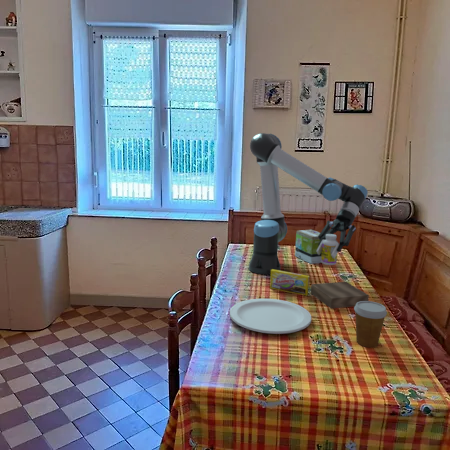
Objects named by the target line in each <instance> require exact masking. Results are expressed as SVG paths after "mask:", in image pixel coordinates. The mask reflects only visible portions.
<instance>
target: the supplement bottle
mask: <svg viewBox="0 0 450 450" xmlns="http://www.w3.org/2000/svg"><path fill="white" fill-rule="evenodd" d="M337 243H339V242H338V240H337V235H336V234H335V233H334V234H326V240H324V241H323V245H322V255H321V262H322V265H326V266H334V265H336V264H337V259H338V254H337V255H336V257H335V259H334V258H332V256H331V254H332V252H333V250H334V248H335V247H336V245H337Z"/></svg>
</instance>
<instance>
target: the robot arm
mask: <svg viewBox="0 0 450 450" xmlns="http://www.w3.org/2000/svg"><path fill="white" fill-rule="evenodd" d="M249 143H250V144H249V148H250V151H251V154H252V155H254V157H256V163H257V165H259V167H260V168H259V169H260V179H261V181H260V182H261V195H262V196H261V197H262V208H263V214H262V215H261V217H260V220H258V221H256V222H255V223H254V227H253V244H252V245H253V246H252V247H253V250H252V255H251V259H250V260H249V264H248V271H250V272H252V273H255V274H260V275H271V270H272V269H274V270H280V271H281V264H280V260H279V255H278V253H279V252H278V251H279V242H281V241H282V240H283V239H285V237H286V235H287V233H288V225H287V223H286V221H285V214H283V213H282V210H281V194H280V181H279V169H280V170H282V171H284V172H285V173H287V174H288V175H289V176H291V177H293V178H295V179H296V180H298V181H299V182H301V183H303V184H304V185H306V186H307V187H309V188H311V189H312V190H314V191H315V192H317V193H319V194H320V195H321V196H323V198H324V199H326V201H330V202H332V201H337V200H340V201H342V202H343V204H342V206H341V208H340V210H339V211H338V213H337V214H336V218H335V219H334V220H333V221H330V220H327V221H326V225H324V227H323V228H322V230H321V232H319V233H320V234H319V236H318V237H319V239H320V242H319V244H318V246H319V247H318V249H317V250H316V252H317V254H318V255H320V253H321V251H322V245H323V241H324V240H326V234H334V235H335V233H337V232H340V237H339V242H338V243H337V245H336V247H335V248H334V250H333V252H332V254H331V256H332V258H334V259H335V257H336V255H337V256H338V253H341V251H342V249H343V247H348V246H349V245H350V242H351V241H352V238H353V235H354V233H355V232H356V230H357V229H356V226H355V224H353V223H354V220H355V218H356V217H357V215H358V213H359V211H360V210H361V207H362V206H363V204H364V202H365V201H366V198H367V196H368V193H369V192H368V189H367V188H366V187H365V186H364V185H362V184H354V185H353V186H350V185H348V184H347V183H343V182H342V181H339V180H338V179H336V178H332V177H331V176H330V177H327V176H325V175H323V174H322V173H321V172H319V171H317V170H316V169H314V168H312V167H310V166H309V165H308V164H306V163H304V162H303V161H301V160H299V159H297V158H296V157H295V156H293V155H291V154H289V153H288V152H286V151H285V150H284V149H282V141H281V140H280V138H279V137H277V136H276V135H274V134H272V133H266V132H262V133H261V132H260V133H257V134H255V135H254V136H253V137H252V138H251V140H250V142H249ZM352 224H353V225H352ZM347 230H348V231H347ZM346 233H347V234H346Z"/></svg>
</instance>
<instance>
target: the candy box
mask: <svg viewBox="0 0 450 450" xmlns="http://www.w3.org/2000/svg"><path fill="white" fill-rule="evenodd" d="M269 279H270V282H269V289H271V290H272V289H273V290H276V291H280V292H286V293H290V294H295V295H301V296H305V297H307V296H309V286H310V275H306V274H301V273H295V272H290V271H285V270H281V269H280V270H274V269H272V270H271V274H270V277H269Z"/></svg>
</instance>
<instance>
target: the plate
mask: <svg viewBox="0 0 450 450" xmlns="http://www.w3.org/2000/svg"><path fill="white" fill-rule="evenodd" d="M229 316H230V319H231V320H232V321H233V322H234V324H236V325H238V326H240V327H242V328H245V329H246V330H250V331H254V332H258V333H261V334H262V333H263V334H277V335H278V334H279V335H280V334H281V335H282V334H283V335H284V334H291V333H296V332H300V331H302V330H304V329H306V328H307V327H309V326H310V324H311V323H312V315H311V313H310V312H309V310H308V309H306V308H305V307H303V306H301V305H299V304H297V303H294V302H290V301H287V300H282V299H278V298H277V299H276V298H252V299H245V300H242V301H239V302H237V303H235V304H234V305H233V306H232V307H231V308H230V310H229Z"/></svg>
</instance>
